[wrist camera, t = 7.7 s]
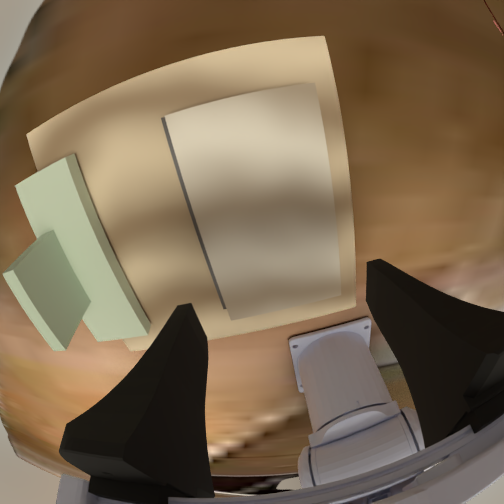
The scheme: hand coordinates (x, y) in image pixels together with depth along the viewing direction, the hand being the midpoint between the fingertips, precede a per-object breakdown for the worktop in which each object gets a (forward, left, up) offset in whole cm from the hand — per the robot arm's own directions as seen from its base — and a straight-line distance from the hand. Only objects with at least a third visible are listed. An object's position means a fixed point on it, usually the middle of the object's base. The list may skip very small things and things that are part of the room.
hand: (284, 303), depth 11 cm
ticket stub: (+1, +13, -8) cm, 15 cm away
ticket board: (+1, +4, -9) cm, 10 cm away
